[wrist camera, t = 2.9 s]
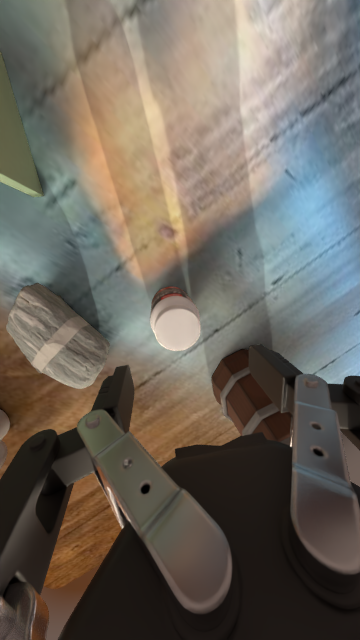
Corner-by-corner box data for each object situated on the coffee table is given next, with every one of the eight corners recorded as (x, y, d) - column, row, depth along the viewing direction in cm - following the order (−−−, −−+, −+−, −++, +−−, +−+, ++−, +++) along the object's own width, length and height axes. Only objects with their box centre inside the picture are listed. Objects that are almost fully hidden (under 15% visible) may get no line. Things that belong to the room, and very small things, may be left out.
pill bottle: (173, 277, 27) (183, 289, 18) (197, 307, 29) (217, 332, 20) (143, 303, 28) (137, 328, 19) (168, 330, 30) (174, 365, 20)
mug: (199, 370, 33) (234, 458, 19) (263, 336, 32) (348, 400, 18) (234, 428, 38) (280, 530, 24) (289, 399, 38) (370, 487, 24)
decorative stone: (127, 340, 29) (120, 360, 24) (84, 383, 31) (69, 412, 25) (49, 279, 25) (19, 286, 20) (4, 332, 27) (-36, 353, 21)
